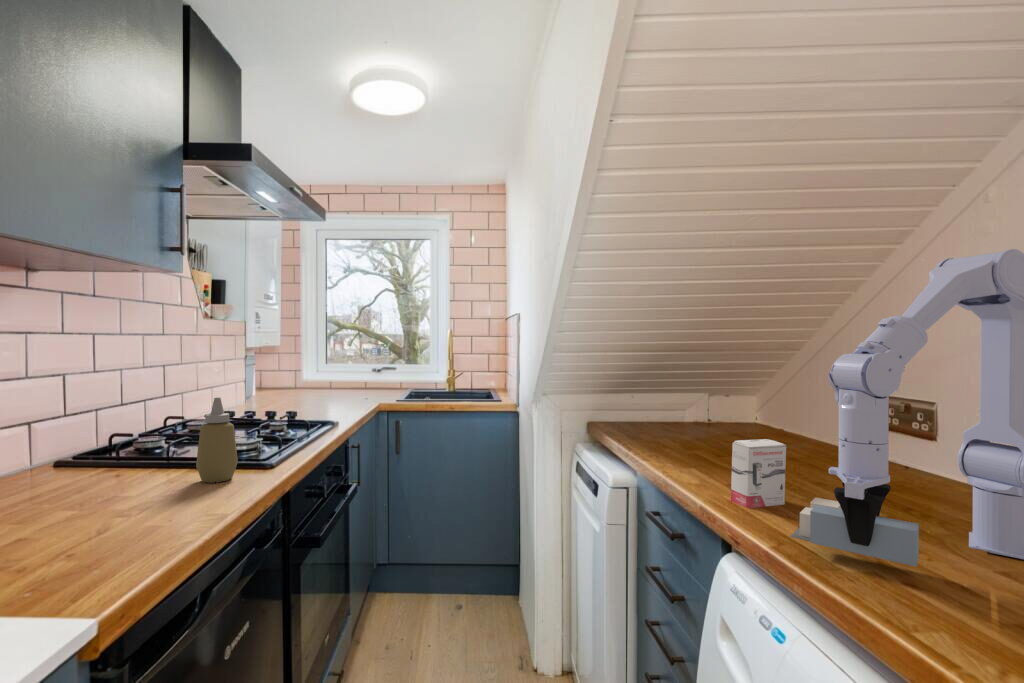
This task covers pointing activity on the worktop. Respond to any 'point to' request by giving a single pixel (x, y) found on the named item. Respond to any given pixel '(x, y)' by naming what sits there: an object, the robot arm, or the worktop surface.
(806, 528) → the post
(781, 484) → the ink box
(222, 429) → the squeeze bottle
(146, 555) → the worktop surface
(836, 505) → the post
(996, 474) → the robot arm
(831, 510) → the lintel
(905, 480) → the worktop surface
